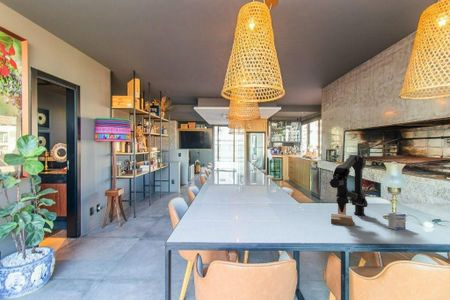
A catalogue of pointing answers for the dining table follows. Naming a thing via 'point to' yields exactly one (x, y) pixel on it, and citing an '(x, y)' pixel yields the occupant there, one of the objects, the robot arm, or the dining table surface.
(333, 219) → the walnut base
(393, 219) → the medicine box
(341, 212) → the terracotta block
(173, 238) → the dining table surface
